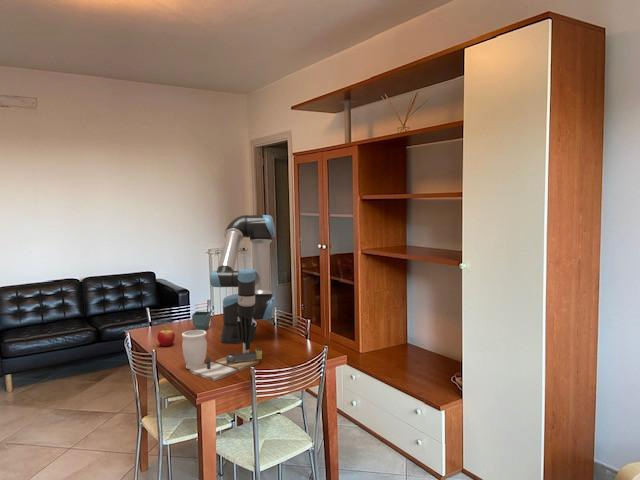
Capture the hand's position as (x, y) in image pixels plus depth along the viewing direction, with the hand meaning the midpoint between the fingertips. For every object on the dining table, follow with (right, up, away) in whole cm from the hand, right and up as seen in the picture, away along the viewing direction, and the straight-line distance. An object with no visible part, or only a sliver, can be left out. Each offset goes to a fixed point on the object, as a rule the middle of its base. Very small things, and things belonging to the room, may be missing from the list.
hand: (245, 356), depth 214 cm
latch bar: (0, -1, -3) cm, 3 cm away
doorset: (-8, -3, -6) cm, 11 cm away
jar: (-21, -4, -4) cm, 22 cm away
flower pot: (-33, +2, +56) cm, 66 cm away
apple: (-44, -1, +27) cm, 52 cm away
